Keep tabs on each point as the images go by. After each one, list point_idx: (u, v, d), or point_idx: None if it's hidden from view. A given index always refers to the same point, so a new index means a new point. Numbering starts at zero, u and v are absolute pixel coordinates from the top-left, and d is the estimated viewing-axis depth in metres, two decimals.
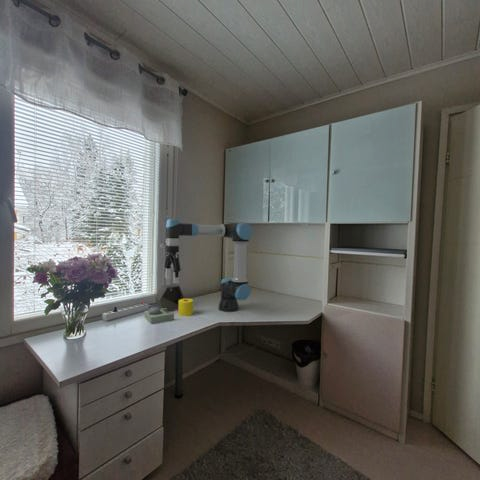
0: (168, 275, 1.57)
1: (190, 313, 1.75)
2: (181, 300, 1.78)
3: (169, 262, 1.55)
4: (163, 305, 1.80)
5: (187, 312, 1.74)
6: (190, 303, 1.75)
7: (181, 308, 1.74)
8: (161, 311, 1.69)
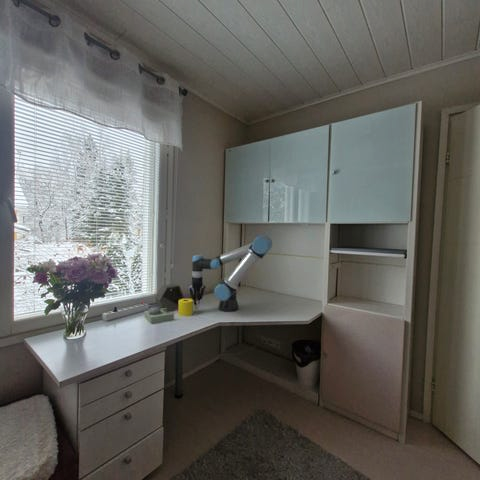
0: None
1: (190, 313, 1.75)
2: (181, 300, 1.78)
3: (197, 292, 1.83)
4: (163, 305, 1.80)
5: (187, 312, 1.74)
6: (190, 303, 1.75)
7: (181, 308, 1.73)
8: (161, 311, 1.69)
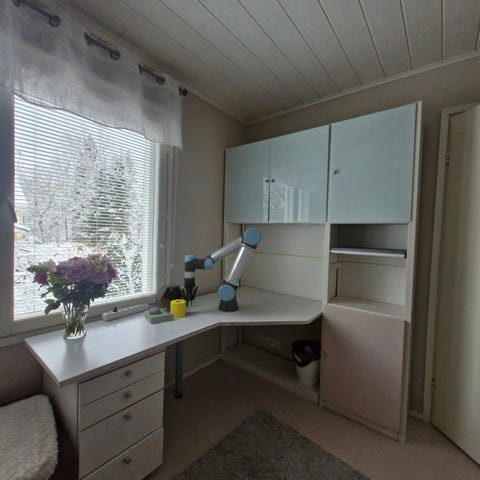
0: None
1: (183, 314, 1.72)
2: (173, 301, 1.74)
3: (190, 293, 1.80)
4: (163, 305, 1.80)
5: (180, 314, 1.71)
6: (183, 304, 1.72)
7: (174, 310, 1.70)
8: (161, 311, 1.69)
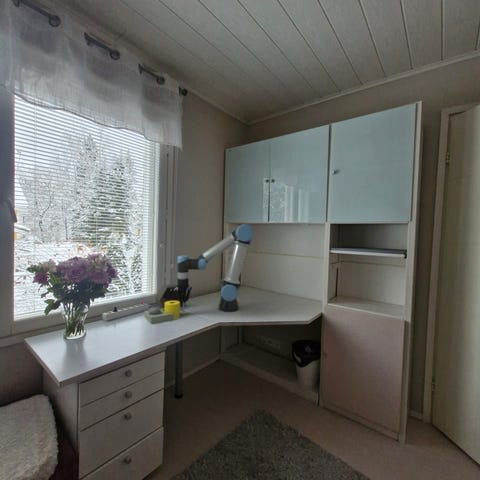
0: (182, 308, 1.77)
1: (177, 315, 1.70)
2: (167, 302, 1.71)
3: (183, 293, 1.77)
4: (163, 305, 1.80)
5: (174, 315, 1.68)
6: (177, 305, 1.69)
7: (168, 311, 1.67)
8: (161, 311, 1.69)
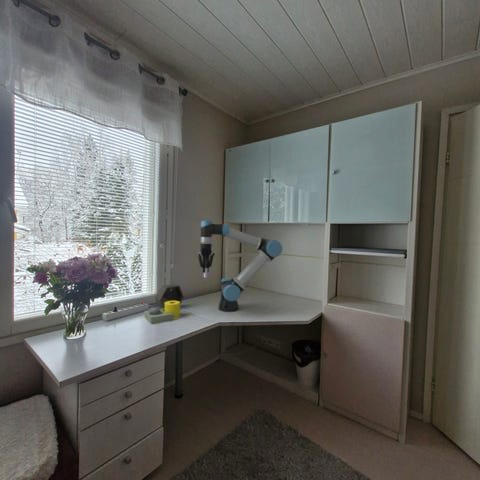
0: None
1: (177, 315, 1.70)
2: (167, 302, 1.71)
3: (206, 259, 1.76)
4: (163, 305, 1.80)
5: (174, 315, 1.68)
6: (177, 305, 1.69)
7: (168, 311, 1.67)
8: (161, 311, 1.69)
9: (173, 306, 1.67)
